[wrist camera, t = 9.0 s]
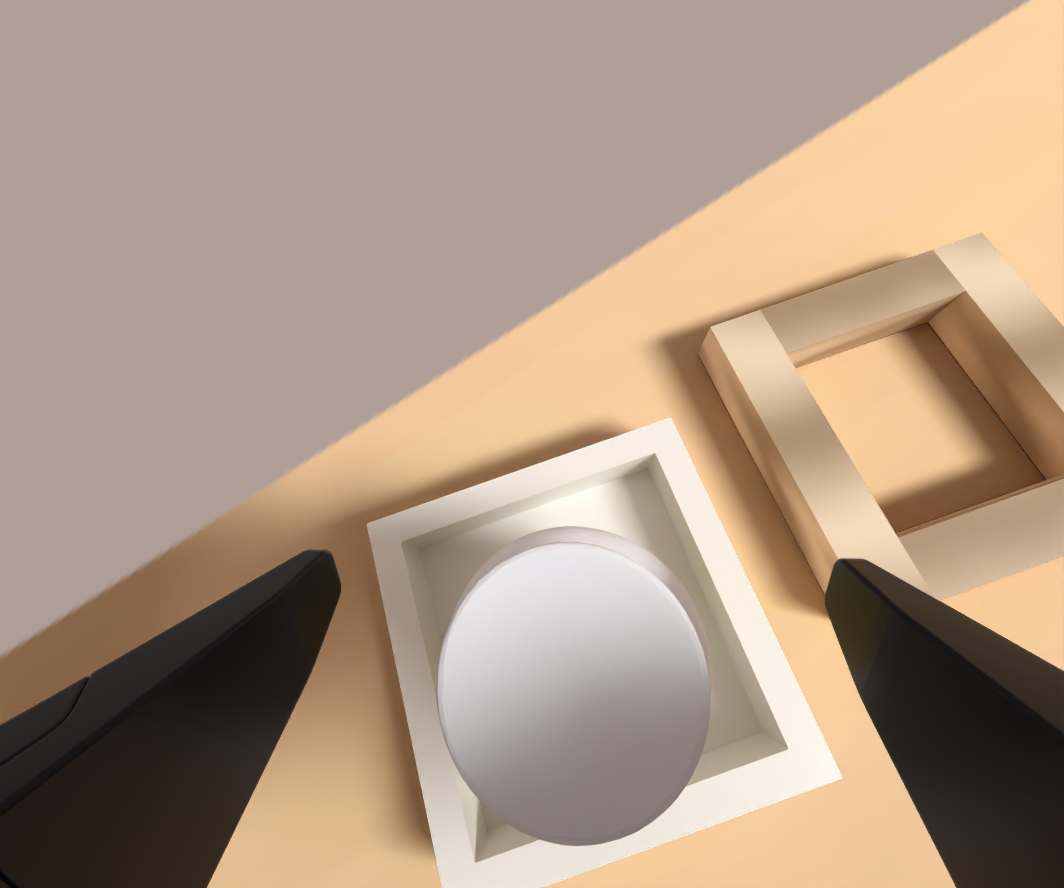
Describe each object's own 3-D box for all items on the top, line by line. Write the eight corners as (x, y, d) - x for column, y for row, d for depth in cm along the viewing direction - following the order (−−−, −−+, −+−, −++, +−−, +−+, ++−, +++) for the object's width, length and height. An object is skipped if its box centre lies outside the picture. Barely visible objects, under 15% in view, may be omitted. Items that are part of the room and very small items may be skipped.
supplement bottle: (528, 534, 17) (470, 452, 8) (676, 584, 16) (806, 558, 7) (474, 689, 16) (326, 810, 6) (633, 755, 15) (726, 1012, 5)
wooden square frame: (1141, 513, 16) (1215, 501, 14) (839, 622, 16) (873, 624, 14) (943, 268, 20) (981, 232, 18) (697, 353, 20) (710, 326, 18)
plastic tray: (801, 751, 15) (842, 777, 12) (470, 871, 15) (449, 921, 12) (659, 441, 19) (670, 417, 16) (393, 534, 18) (366, 523, 16)
